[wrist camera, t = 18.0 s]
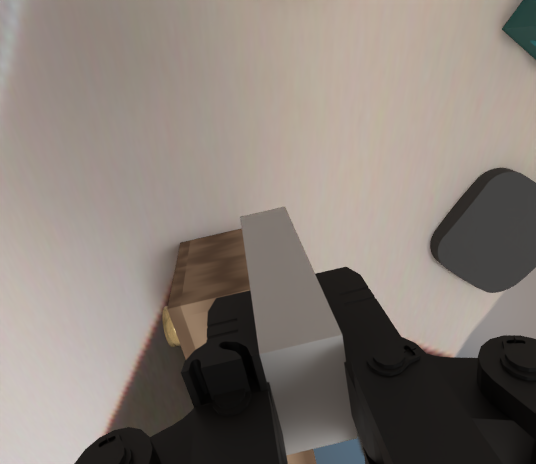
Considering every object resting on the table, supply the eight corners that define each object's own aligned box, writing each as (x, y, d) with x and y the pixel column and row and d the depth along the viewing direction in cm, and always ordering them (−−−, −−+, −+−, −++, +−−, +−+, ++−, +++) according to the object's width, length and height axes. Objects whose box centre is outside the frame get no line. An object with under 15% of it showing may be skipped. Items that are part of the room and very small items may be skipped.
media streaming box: (492, 155, 48) (509, 161, 46) (565, 210, 53) (583, 218, 50) (417, 248, 53) (428, 259, 50) (490, 292, 57) (504, 304, 54)
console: (230, 395, 59) (234, 488, 46) (180, 242, 48) (167, 309, 35) (295, 379, 59) (317, 468, 46) (260, 224, 48) (276, 283, 35)
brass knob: (177, 329, 46) (173, 355, 42) (165, 299, 44) (160, 322, 40) (230, 317, 46) (231, 341, 42) (221, 285, 44) (221, 308, 40)
